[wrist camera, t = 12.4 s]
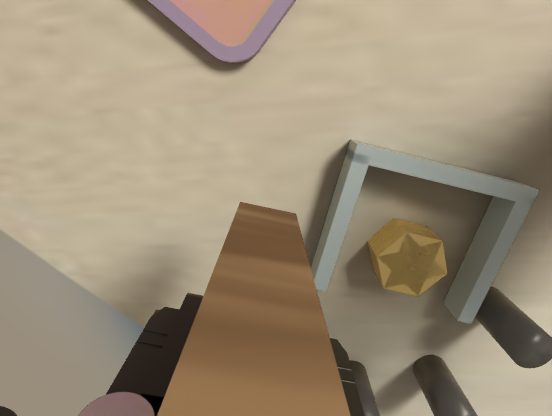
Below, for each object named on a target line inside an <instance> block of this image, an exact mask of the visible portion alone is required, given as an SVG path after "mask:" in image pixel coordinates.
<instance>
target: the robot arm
mask: <svg viewBox="0 0 552 416" xmlns="http://www.w3.org/2000/svg"><path fill="white" fill-rule="evenodd" d="M202 299H203V296H201V295H196V294H191V293H187V295H186V297H185V299H184V301H183V304H182V306H181V308H180V310H179V309H173V308H168V307H164V308H163V309H161V310H160V311H158V312H157V313H156V314H154V315H153V316H151V318H150V319H149V321H148V323H147V325H146V326H145V328H144V330H143V333H141V335H140V337H139V338H138V340H137V342H136V345H134V347H133V349H132V350H131V352H130V354H129V356H128V358H127V359H126V361H125V363H124V364H123V366H122V368H121V369H120V371H119V373H118V375H117V376H116V378H115V380H114V382H113V383H112V385H111V387H110V388H109V390H108V392H107V393H106V395H104V396H102V397H100V398H98V399H96V400H94V401H93V402H91V403H90V404H89V405H87V406H86V407H85V408H84V409H83V410H82V411H81V412H80V414H79V415H78V416H157V415H158V412H159V410H160V407H161V404H162V402H163V399H164V397H165V394H166V392H167V389H168V386H169V384H170V381H171V379H172V376H173V374H174V371H175V368H176V366H177V363H178V361H179V358H180V356H181V353H182V350H183V348H184V345H185V343H186V340H187V338H188V335H189V332H190V330H191V327H192V325H193V322H194V320H195V317H196V314H197V312H198V309H199V307H200V304H201V302H202ZM330 342H331V345H332V349H333V353H334V356H335V360H336V364H337V367H338V371H339V375H340V379H341V382H342V386H343V390H344V393H345V397H346V401H347V404H348V408H349V412H350V415H351V416H365V415H364V411H363V408H362V404H361V400H360V397H359V393H358V390H357V386H356V385H355V379H354V376H353V372H352V371H351V365H350V362H349V358H348V355H347V352H346V351H345V350H344V348H343V347H342V346H341V344H340V343H339V342H338V340H337V339H332V338H330ZM0 416H17V415H16V414H15V413H14V412H13V411H12V410H10V409H8V408H5V407H1V406H0Z"/></svg>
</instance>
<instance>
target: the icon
mask: <svg viewBox="0 0 552 416" xmlns="http://www.w3.org/2000/svg"><path fill="white" fill-rule="evenodd" d="M148 1H149V2H150V3H151V4H153V5H154V6H155V7H156V8H157V9H158V10H160V11H161V12H162V13H163V14H164V15H166V16H167V17H168V18H169V19H170V20H171V21H173V22H174V23H175V24H176V25H177V26H179V27H180V28H181V29H182V30H183V31H184V32H186V33H187V34H188V35H189V36H190V37H192V38H193V39H194V40H195V41H196V42H197V43H199V44H200V45H201V46H202V47H203V48H205V49H206V50H207V51H208V52H209V53H211V54H212V55H213V56H215V57H216V58H217V59H219V60H221V61H224V62H227V63H241V62H245V61H248V60H250V59H251V58H253V57H254V56H255V55H256V54H257V53H258V52H259V51H260V49H261V48H262V47H263V45H264V44H265V43H266V41H267V40H268V38H269V37H270V36H271V34H272V33H273V31H274V30H275V29H276V27H277V26H278V25H279V23H280V22H281V20H282V19H283V18H284V16H285V15H286V14H287V12H288V11H289V9H290V8H291V7H292V5H293V4H294V2H295V1H296V0H148Z"/></svg>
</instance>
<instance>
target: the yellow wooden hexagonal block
mask: <svg viewBox="0 0 552 416" xmlns="http://www.w3.org/2000/svg"><path fill="white" fill-rule="evenodd" d="M368 245H369V250H370V254H371V259H372V263H373V268H374V271H375V273H376V275H377V277H378V279H379V280H380V282H381V284H382V286H383V288H384V289H388V290H392V291H397V292H401V293H405V294H410V295H414V296H419V295H421V294H422V293H423V292H424V291H426V290H427V289H428V288H430V287H431V286H432V285H433V284H435V283H436V282H437V281H439V280H440V279H441V278H442V277H444V276H445V275H446V274H447V267H446V260H445V254H444V247H443V241H442V240H441V239H440V238H439V237H438V236H437V235H435V234H434V233H433V232H432V231H431V230H430V229H429V228H428V227H426V226H422V225H418V224H414V223H410V222H406V221H402V220H398V219H393V220H392V221H390V222H389V223H388V224H387V225H386V226H385V227H383V228H382V229H381V230H380V231H379V232H378V233H377V234H375V235H374V236H373V237H372V238H371V239H370V240H368Z"/></svg>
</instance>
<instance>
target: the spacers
mask: <svg viewBox="0 0 552 416" xmlns="http://www.w3.org/2000/svg"><path fill="white" fill-rule="evenodd" d="M475 317H476V318H477V320H478V321H479V322H480V323H481V324H482V325H483V326H484V328H485V329H486V330H487V331H488V332H489V333H490V334H491V336H492V337H493V338H494V339H495V340H496V341H497V342H498V344H499V345H500V346H501V347H502V348H503V349H504V350H505V351H506V353H507V354H508V355H509V356H510V357H511V358H512V359H513V361H514V362H515V363H516V364H517V365H519V366H521V367H524V368H536V367H539V366H542V365H544V364H546V363H547V362H548V361H550V360H551V359H552V337H551V336H550V335H548V334H547V333H546V332H545V331H544V330H543V329H542V328H541V327H539V326H538V325H537V324H536V323H535V322H534V321H533V320H532V319H530V318H529V317H528V316H527V315H526V314H525V313H524V312H523V311H521V310H520V309H519V308H518V307H517V306H516V305H515V304H514V303H512V302H511V301H510V300H509V299H508V298H507V297H506V296H505V295H504V294H502V293H501V292H500V291H499V290H498V289H496V288H493V287H490V288H489V290H488V292H487V294H486V296H485V298H484V300H483V302H482V304H481V306H480V308H479V310H478V312H477V314H476V316H475ZM349 362H350V365H351V371H352V372H353V376H354V379H355V385H356V386H357V390H358V393H359V397H360V400H361V404H362V408H363V411H364V415H365V416H380V415H379V411H378V408H377V405H376V402H375V398H374V395H373V392H372V389H371V385H370V382H369V379H368V376H367V372H366V369H365V367H364V366H363V365H362V364H361V363H359V362H356V361H349ZM413 372H414V374H415V376H416V378H417V380H418V383H419V385H420V387H421V389H422V391H423V393H424V395H425V397H426V399H427V401H428V403H429V406H430V408H431V410H432V412H433V414H434V416H477V414H476V412H475V411H474V409H473V408H472V406H471V404H470V403H469V401H468V399H467V398H466V396H465V395H464V393H463V391H462V390H461V388H460V386H459V385H458V383H457V381H456V380H455V378H454V377H453V375H452V373H451V372H450V370H449V368H448V367H447V365H446V364H445V362H444V360H443V359H442V358H440V357H438V356H435V355H428V356H424V357H422V358H420V359H419V360H417V361H416V363H415V364H414V367H413Z"/></svg>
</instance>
